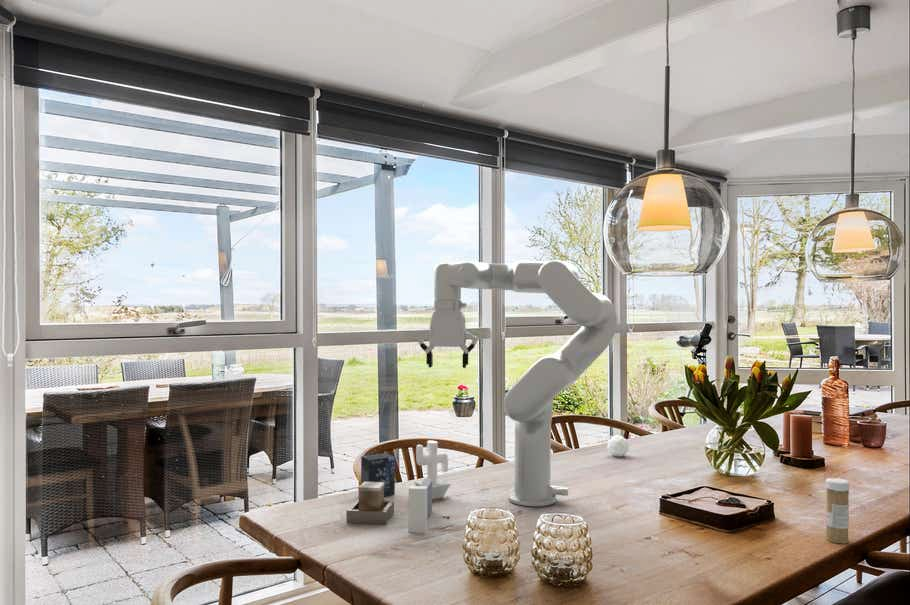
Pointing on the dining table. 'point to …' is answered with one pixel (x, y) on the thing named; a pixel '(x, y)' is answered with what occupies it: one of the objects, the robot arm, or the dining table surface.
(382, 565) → the dining table surface
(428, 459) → the figurine
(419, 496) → the grey upright block
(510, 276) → the robot arm
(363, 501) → the stop block
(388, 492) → the box
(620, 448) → the ornament
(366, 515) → the tray
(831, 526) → the sprinkles bottle
